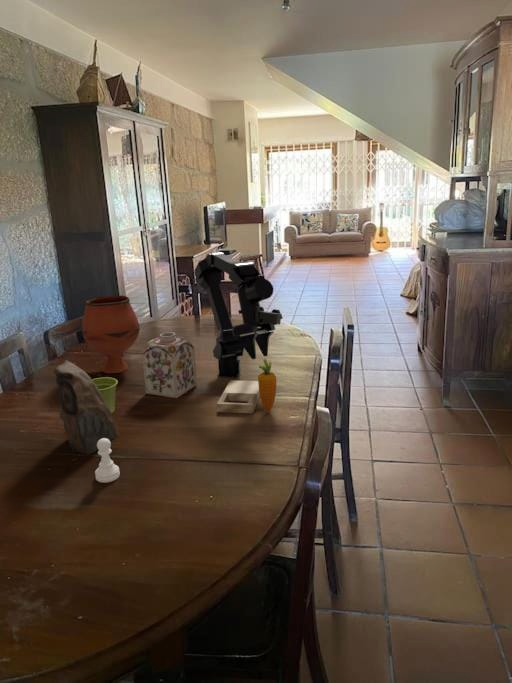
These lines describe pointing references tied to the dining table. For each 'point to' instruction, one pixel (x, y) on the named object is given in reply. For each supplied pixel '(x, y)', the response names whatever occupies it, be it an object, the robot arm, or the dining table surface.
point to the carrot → (267, 386)
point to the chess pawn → (106, 463)
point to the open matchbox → (239, 397)
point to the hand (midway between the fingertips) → (260, 357)
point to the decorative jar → (169, 366)
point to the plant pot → (107, 390)
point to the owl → (83, 409)
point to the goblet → (110, 329)
